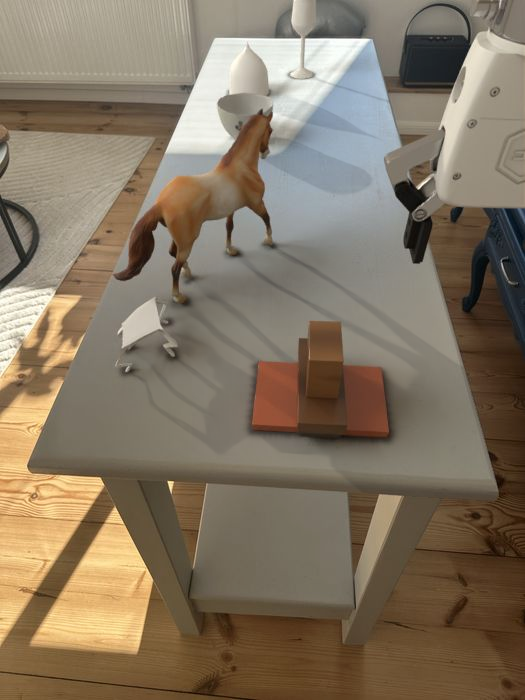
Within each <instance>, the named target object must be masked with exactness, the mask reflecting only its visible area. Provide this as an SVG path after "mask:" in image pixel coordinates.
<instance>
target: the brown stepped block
mask: <svg viewBox="0 0 525 700" xmlns="http://www.w3.org/2000/svg"><path fill="white" fill-rule="evenodd" d="M343 345H344V344H343V333H342V322H341V321H333V320H332V321H331V320H325V321H324V320H308V327H307V337H299V338H298V346H297V347H298V348H297V363H298V404H297V432H296V433H297V434H299V436H300V437H303V438H304V437H305V438H325V439H326V438H327V439H341V436H346V435H345V434H346V429H347V414H346V400H345V385H344V371H343V365H344V362H345V360H344V348H343V347H344V346H343Z"/></svg>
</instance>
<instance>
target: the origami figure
mask: <svg viewBox="0 0 525 700" xmlns="http://www.w3.org/2000/svg"><path fill="white" fill-rule="evenodd" d="M157 305H162V307H161V311H160V314H159V312H158V308H157V307H158V306H157ZM167 306H168V301H167V300H165V299H164V300H163V299H161V298H158V296H154V297H152V298H150V299H149V300H147V301H146V302H145V303H143V304H141V305H140V306H138V307H137V308H136V309H135V310H134V311H133V312H132V313H131V314H130V315H129V316H128V317H127V318H126V319H125V320H124V321H123V322H121V327H120V328H119V329H118V331H117V336H118V337H120V338H121V339H122V346H121V348H120V351H121V352H120V354H119V358H118V359H117V361H116V363H115V366H114V367H115V368H122V367H126V369H125V373H128V372H129V371H130V370H131V368H132V365H133V362H129V363H122V360H123V359H124V355H125V353H126V350H131V349H132V347H133V346H135V345H136V344H138V343H139V342H141V341H143V340H145V339H147V338H149V337H150V336H153V335H154V334H156V333H158V332H160V334H161V335H162V336H163V337H164V338H165V339H166V340H167V342H166V343H164V344H163V349H165V350H166V352H167V353H168V354H169V355H170V356H171V357H175V356H176V355H175V352H174V351H173V350H172V349H171V348H178V347H179V346H178V343H177V341H176V340H175V339H174V338H173V337H172V336H171V335H170V334H169V333H167V331H165V330H164V328H163V327H162V325H161V323H162V324H164V325H168V324H169V321H168V320H167V319H164V318H162V317H163V315H164V313H165V310H166V308H167Z"/></svg>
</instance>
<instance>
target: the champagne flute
mask: <svg viewBox="0 0 525 700" xmlns="http://www.w3.org/2000/svg"><path fill="white" fill-rule="evenodd" d="M290 23H291V25H292V28H293V29H294V31H295V32H296V33H297V35H299V36H300V50H299V51H300V52H299V53H300V54H299V67H298V68H296V69H295V70H293V71H292V72H290V73H289V76H290V77H291V78H293V79H300V80H301V79H302V80H304V79H310V78H312V77H313V76H314V73H312V72H311V71H310V70H308V69H307V68H306V67H305V55H306V54H305V53H306V52H305V51H306V36H308V35H309V34H310V33H311V31H313V30H314V28H315V26H316V24H317V0H293V3H292V11H291V21H290Z"/></svg>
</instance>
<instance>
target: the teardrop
mask: <svg viewBox="0 0 525 700" xmlns="http://www.w3.org/2000/svg"><path fill="white" fill-rule="evenodd" d="M229 68H230V69H229V74H228V84H229V85H228V95H231V94H238V93H245V92H246V93H254V94H256V95H260V94H261V95H264V96H267V97H268V96H269V94H270V88H269V74H268V72H269V71H268V68H267V66H266V64H265V62H264V60H263V59H262V58H261V56H259V55H258V54H257V53H256V52H255V51H254V50H253V49H252V48H251V47H250V45H249V42H248V41H246V45H245V47H244V48H243V49H242V51H241V52H240V53H238V54H237V55H236V57H235V58H234V60H233V61H232V63H231V65H230V67H229Z"/></svg>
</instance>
